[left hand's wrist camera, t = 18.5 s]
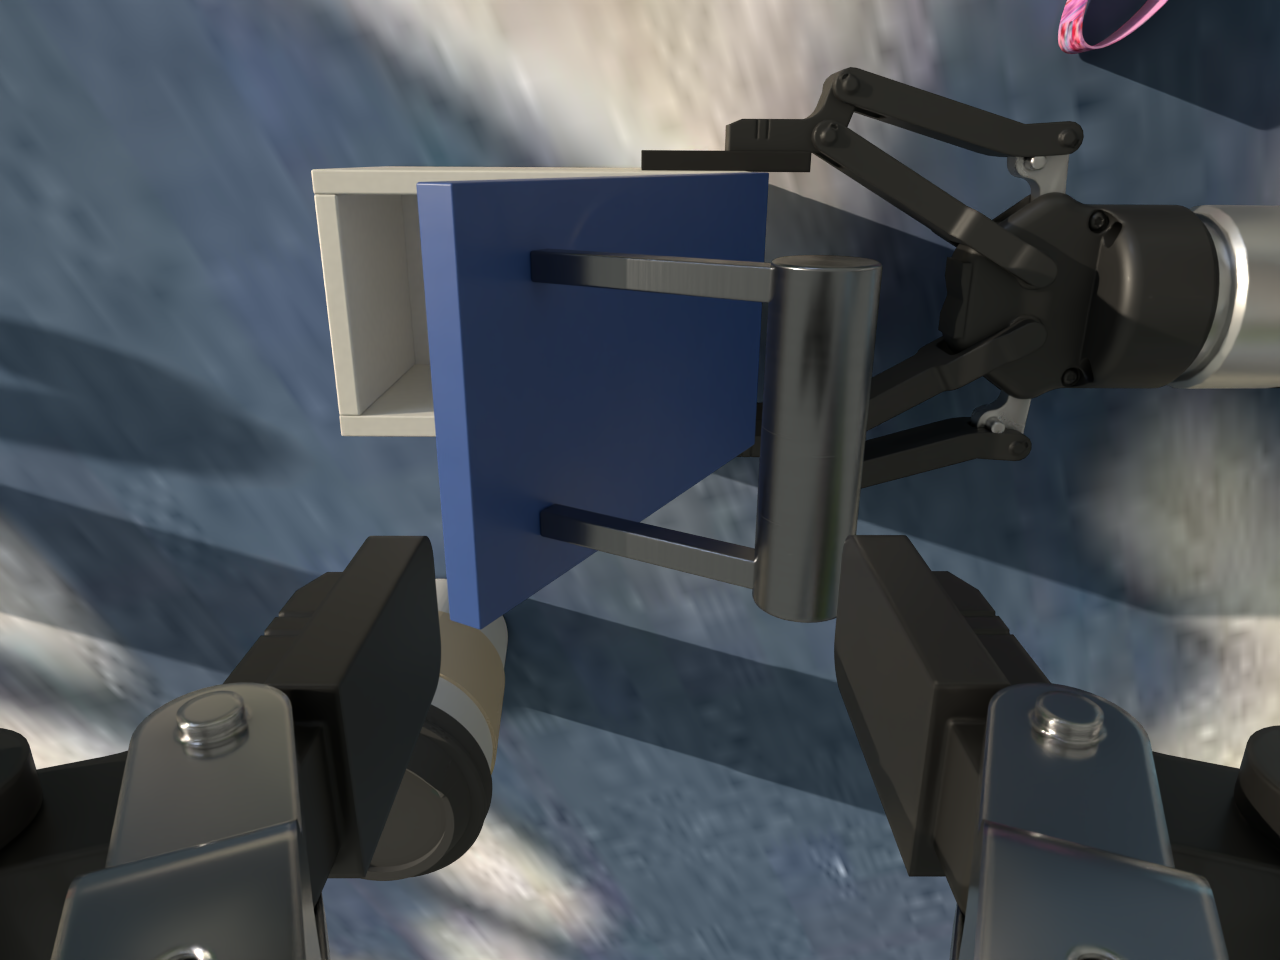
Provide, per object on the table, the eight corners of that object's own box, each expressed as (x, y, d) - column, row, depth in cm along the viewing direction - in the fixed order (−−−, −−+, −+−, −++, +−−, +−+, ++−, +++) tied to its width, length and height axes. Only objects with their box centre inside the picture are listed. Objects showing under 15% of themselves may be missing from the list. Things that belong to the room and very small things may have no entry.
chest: (404, 376, 44) (341, 436, 35) (385, 166, 41) (310, 169, 31) (719, 378, 44) (742, 438, 35) (728, 168, 41) (754, 172, 32)
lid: (449, 620, 21) (797, 733, 17) (414, 181, 18) (840, 192, 14) (732, 440, 35) (963, 480, 31) (743, 172, 31) (1006, 176, 27)
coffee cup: (466, 729, 51) (401, 945, 37) (334, 644, 49) (212, 838, 35) (559, 622, 49) (527, 810, 35) (424, 528, 47) (331, 688, 33)
